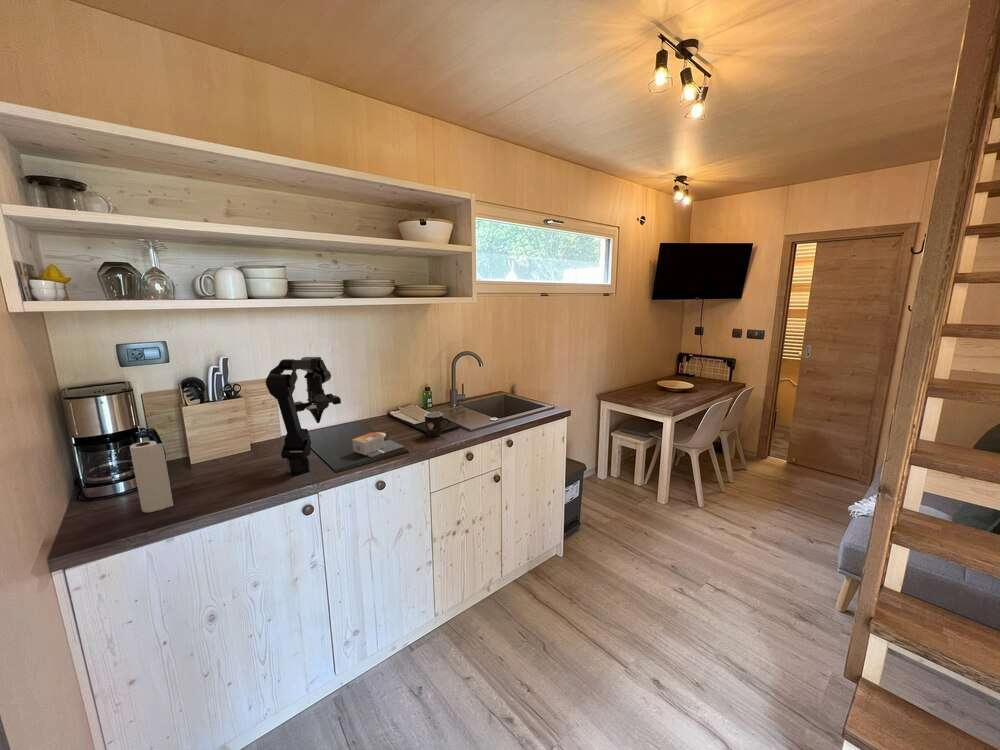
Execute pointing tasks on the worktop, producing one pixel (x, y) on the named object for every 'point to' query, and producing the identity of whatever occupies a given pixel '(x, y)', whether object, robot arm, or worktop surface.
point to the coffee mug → (434, 423)
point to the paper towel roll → (151, 476)
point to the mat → (386, 448)
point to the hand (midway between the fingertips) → (318, 422)
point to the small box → (368, 443)
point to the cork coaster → (381, 433)
